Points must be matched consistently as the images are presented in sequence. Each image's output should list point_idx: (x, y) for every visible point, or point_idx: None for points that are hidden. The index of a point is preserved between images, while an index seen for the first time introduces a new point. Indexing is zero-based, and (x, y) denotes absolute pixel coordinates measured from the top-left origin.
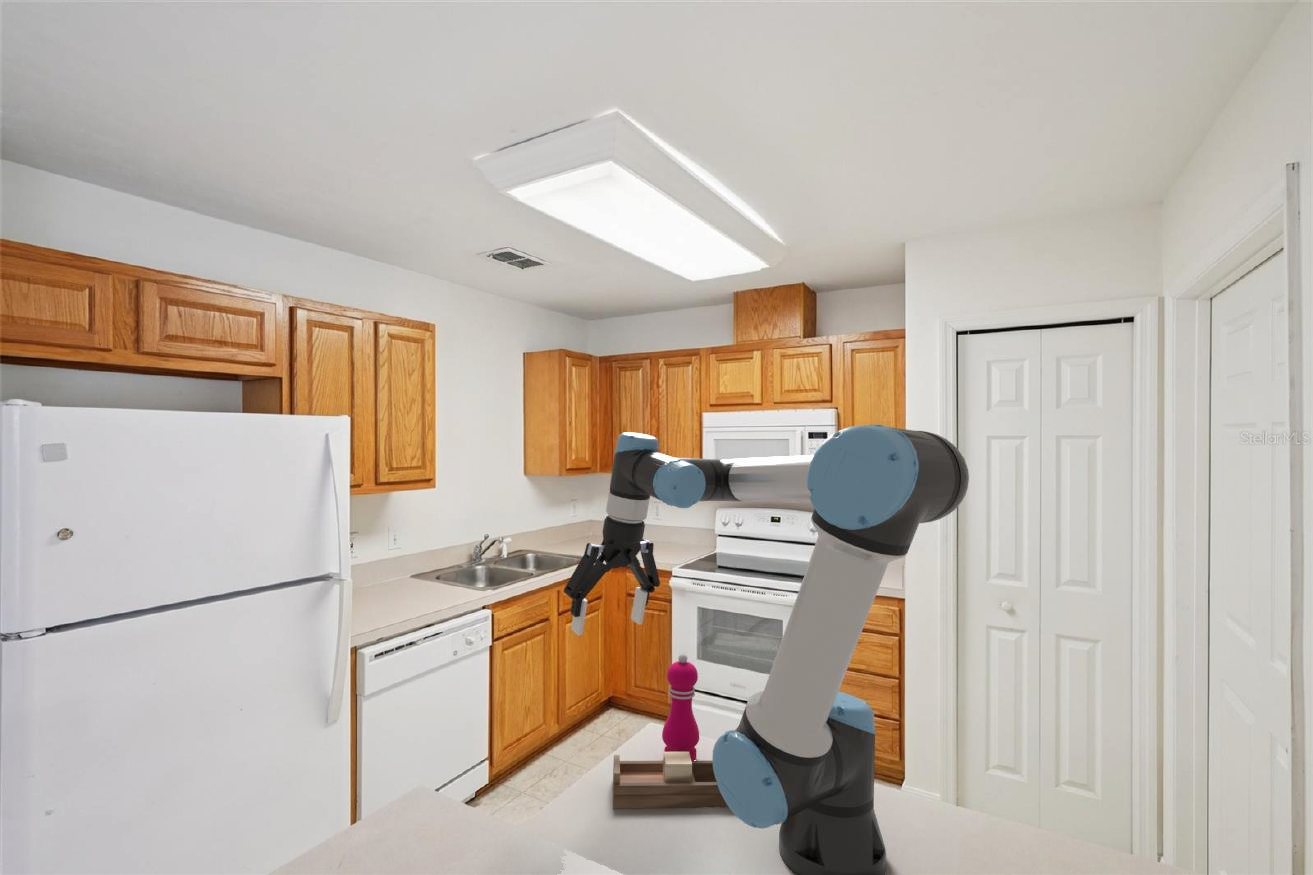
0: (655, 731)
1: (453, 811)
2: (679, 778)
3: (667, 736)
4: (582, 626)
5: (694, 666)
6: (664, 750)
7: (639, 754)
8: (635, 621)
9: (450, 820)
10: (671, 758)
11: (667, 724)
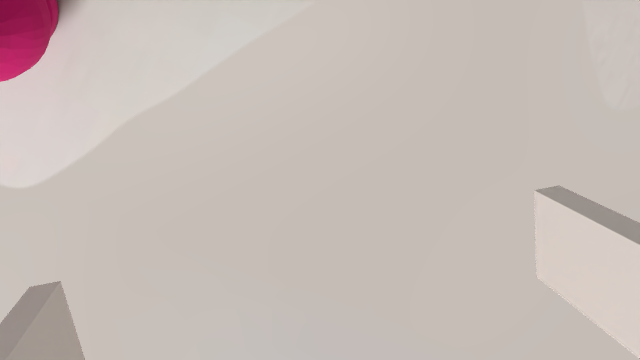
0: (14, 182)
1: (592, 38)
2: None
3: (39, 8)
4: (579, 209)
5: None
6: (51, 28)
7: (118, 82)
8: (71, 325)
9: (612, 9)
10: None
11: (23, 31)
